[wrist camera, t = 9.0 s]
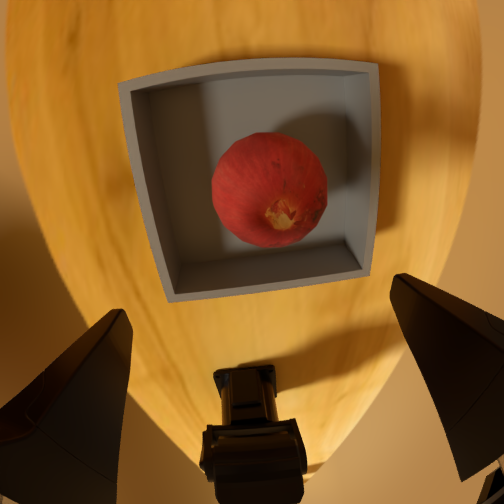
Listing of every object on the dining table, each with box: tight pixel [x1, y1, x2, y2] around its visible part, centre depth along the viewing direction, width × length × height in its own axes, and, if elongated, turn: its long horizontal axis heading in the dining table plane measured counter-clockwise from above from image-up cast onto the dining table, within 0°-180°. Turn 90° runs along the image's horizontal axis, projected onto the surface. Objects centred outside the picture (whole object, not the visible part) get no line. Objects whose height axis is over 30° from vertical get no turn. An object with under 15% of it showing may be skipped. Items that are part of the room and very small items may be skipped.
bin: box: [118, 58, 381, 303], centre depth 16 cm, size 13×13×4 cm
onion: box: [211, 132, 328, 248], centre depth 14 cm, size 6×6×8 cm
